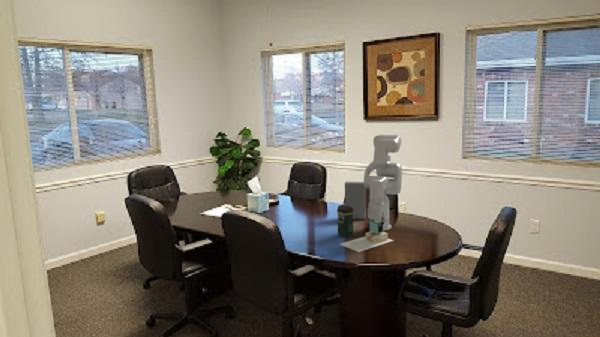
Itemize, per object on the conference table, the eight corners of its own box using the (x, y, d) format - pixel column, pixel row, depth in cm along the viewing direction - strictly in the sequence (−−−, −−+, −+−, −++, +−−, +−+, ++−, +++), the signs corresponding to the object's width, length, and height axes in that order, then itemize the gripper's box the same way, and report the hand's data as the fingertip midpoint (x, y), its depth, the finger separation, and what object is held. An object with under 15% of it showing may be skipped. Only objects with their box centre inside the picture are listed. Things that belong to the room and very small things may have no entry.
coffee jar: (355, 235, 273) (355, 206, 270) (346, 238, 269) (345, 208, 265) (345, 231, 281) (344, 202, 277) (335, 234, 276) (334, 205, 273)
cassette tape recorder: (365, 217, 311) (365, 181, 306) (365, 219, 305) (365, 183, 300) (345, 216, 313) (345, 181, 309) (344, 219, 307) (344, 183, 303)
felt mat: (339, 244, 259) (339, 244, 259) (373, 234, 275) (373, 233, 275) (358, 252, 246) (358, 251, 246) (393, 241, 262) (393, 240, 262)
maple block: (365, 239, 265) (365, 232, 265) (376, 236, 271) (376, 229, 270) (376, 243, 258) (376, 236, 257) (387, 239, 263) (387, 233, 263)
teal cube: (369, 231, 264) (369, 222, 263) (376, 229, 267) (376, 220, 266) (376, 233, 260) (376, 224, 259) (383, 231, 263) (383, 222, 262)
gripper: (361, 198, 265) (361, 228, 268) (383, 204, 251) (383, 235, 254) (370, 196, 269) (370, 225, 272) (392, 202, 255) (392, 232, 259)
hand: (376, 230), depth 263 cm, fingers closed on teal cube, 5 cm apart
